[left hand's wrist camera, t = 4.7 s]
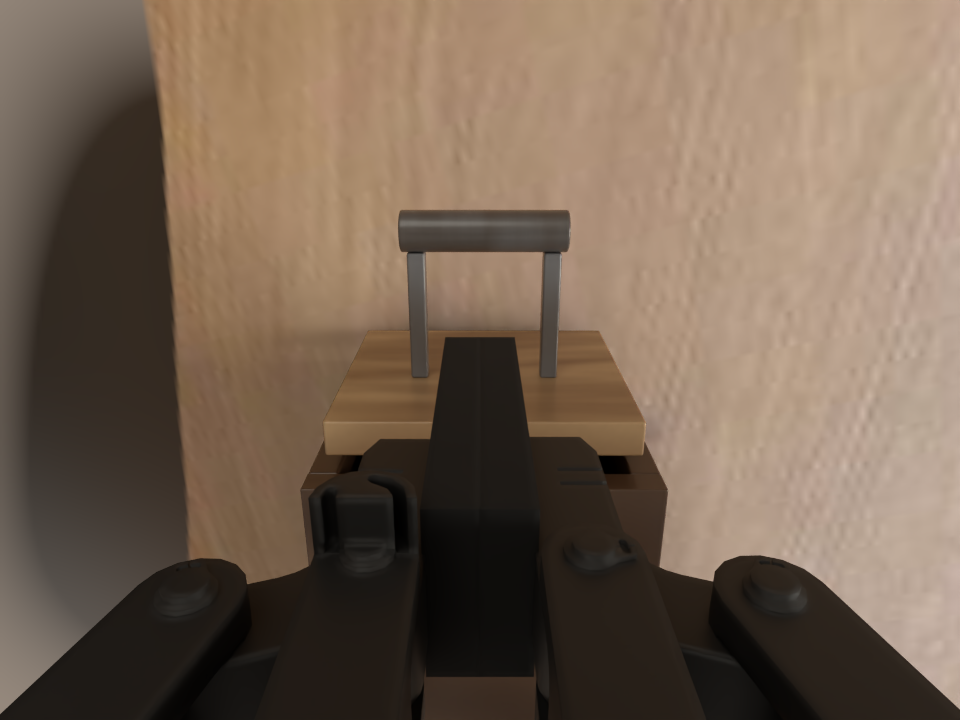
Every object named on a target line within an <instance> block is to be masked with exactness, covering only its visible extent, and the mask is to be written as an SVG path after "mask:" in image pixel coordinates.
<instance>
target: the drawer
mask: <svg viewBox="0 0 960 720" xmlns="http://www.w3.org/2000/svg"><path fill="white" fill-rule="evenodd" d="M570 231H571V224H570V214H569V211H568V210H401V211H400V213H399V219H398V237H399V246H400V250H401V252H408V253H407V274H408V300H409V325H410V331H368V333H367V335H366V337H365V339H364V341H363V343H362V345H361V347H360V349H359V351H358V353H357V355H356V357H355V359H354V361H353V363H352V365H351V367H350V369H349V371H348V373H347V375H346V377H345V379H344V381H343V383H342V385H341V387H340V389H339V391H338V393H337V395H336V397H335V399H334V401H333V403H332V405H331V407H330V409H329V411H328V413H327V415H326V417H325V419H324V421H323V432H324V443H325V453H326V455H363V454H364V453H365V452H366V451H367V450H368V449H369V448H370V447H371V446H373V445H374V444H375V443H376V442H377V441H378V440H380V439H430V437H431V430H432V423H433V416H434V410H435V403H436V396H437V389H438V383H439V376H440V369H441V362H442V356H443V349H444V342H445V337H515V342H516V349H517V356H518V363H519V369H520V376H521V383H522V389H523V396H524V403H525V410H526V416H527V423H528V430H529V437H581V438H582V439H583V440H584V441H585V442H587V443H588V444H589V445H590V446H591V447H592V448H593V449H595V450H596V451H597V454H598V457H599V456H641V455H643V450H644V440H645V430H646V422H645V420H644V418H643V416H642V414H641V412H640V410H639V408H638V406H637V404H636V402H635V400H634V398H633V396H632V394H631V393H630V391H629V389H628V387H627V385H626V383H625V381H624V379H623V377H622V375H621V373H620V371H619V369H618V367H617V365H616V363H615V361H614V359H613V357H612V355H611V353H610V351H609V349H608V348H607V346H606V344H605V342H604V340H603V338H602V336H601V334H600V332H599V331H559V308H560V285H561V263H562V254H561V252H567V251H568V249H569V244H570ZM426 252H543V261H542V291H541V320H540V331H428V314H427V280H426ZM599 460H600V459H599ZM602 471H603V469H602Z"/></svg>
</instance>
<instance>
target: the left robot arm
mask: <svg viewBox="0 0 960 720" xmlns="http://www.w3.org/2000/svg"><path fill="white" fill-rule="evenodd" d="M308 501H309V510H310V520H311V529H312V538H313V548H314V556H313V559H312V562H311V564H310V566H309V567H307V568H304V569H302V570H300V571H298V572H296V573H293V574H289V575H286V576H283V577H279V578H275V579H270V580H266V581H261V582H257V583H252V584H247V581H246V575H245V573H244V572H243V571H242V570H241V569H240V568H239V567H238V566H237V565H236V564H234V563H231V562H228V561H225V560H222V559H204V558H200V559H195V560H190V561H185V562H180V563H177V564H174V565H172V566H170V567H167V568H165V569H163V570H160V571H158V572H156V573H155V574H153V575H152V576H150V577H149V578H148V579H146V580H145V581H143V582H142V583H141V584H139V585H138V586H137V587H136V588H135V589H134V590H133V591H131V592H130V593H129V594H128V595H127V596H126V597H125V598H124V599H123V600H122V601H121V602H120V603H119V604H118V605H117V606H115V607H114V608H113V609H112V610H111V611H110V612H109V613H108V614H107V615H106V616H105V617H104V618H103V619H102V620H100V621H99V622H98V623H97V624H96V625H95V626H94V627H93V628H92V629H91V630H90V631H89V632H88V633H87V634H86V635H84V636H83V637H82V638H81V639H80V640H79V641H78V642H77V643H76V644H75V645H74V646H73V647H72V648H71V649H70V650H68V651H67V652H66V653H65V654H64V655H63V656H62V657H61V658H60V659H59V660H58V661H57V662H56V663H55V664H53V665H52V666H51V667H50V668H49V669H48V670H47V671H46V672H45V673H44V674H43V675H42V676H41V677H40V678H39V679H37V680H36V681H35V682H34V683H33V684H32V685H31V686H30V687H29V688H28V689H27V690H26V691H25V692H24V693H22V694H21V695H20V696H19V697H18V698H17V699H16V700H15V701H14V702H13V703H12V704H11V705H10V706H9V707H8V708H6V709H5V710H4V711H3V712H2V713H1V714H0V720H424V718H425V694H424V677H425V666H426V677H534V663H535V673H536V694H535V719H534V720H960V709H959V708H957V707H956V706H955V705H954V704H953V703H952V702H951V701H950V700H949V699H948V698H947V697H946V696H945V695H943V694H942V693H941V692H940V691H939V690H938V689H937V688H936V687H935V686H934V685H933V684H932V683H931V682H929V681H928V680H927V679H926V678H925V677H924V676H923V675H922V674H921V673H920V672H919V671H918V670H917V669H915V668H914V667H913V666H912V665H911V664H910V663H909V662H908V661H907V660H906V659H905V658H904V657H903V656H901V655H900V654H899V653H898V652H897V651H896V650H895V649H894V648H893V647H892V646H891V645H890V644H889V643H887V642H886V641H885V640H884V639H883V638H882V637H881V636H880V635H879V634H878V633H877V632H876V631H875V630H873V629H872V628H871V627H870V626H869V625H868V624H867V623H866V622H865V621H864V620H863V619H862V618H861V617H859V616H858V615H857V614H856V613H855V612H854V611H853V610H852V609H851V608H850V607H849V606H848V605H847V604H845V603H844V602H843V601H842V600H841V599H840V598H839V597H838V596H837V595H836V594H835V593H834V592H833V591H831V590H830V589H829V588H828V587H827V586H826V585H825V584H824V583H823V582H822V581H820V580H819V579H817V578H816V577H815V576H813V575H812V574H810V573H809V572H807V571H806V570H805V569H803V568H800V567H798V566H796V565H793V564H791V563H788V562H786V561H784V560H780V559H775V558H770V557H765V556H739V557H736V558H733V559H730V560H727V561H724V562H723V563H722V564H721V566H720V567H719V568H718V569H717V570H716V571H715V575H714V581H713V582H712V581H707V580H703V579H698V578H693V577H689V576H684V575H680V574H677V573H673V572H670V571H667V570H664V569H662V568H660V567H657V566H655V565H653V564H651V563H649V561H648V558H647V555H646V553H645V551H644V550H643V548H642V547H641V545H640V544H639V543H638V541H637V540H635V539H634V538H632V537H631V536H629V535H628V534H626V533H625V532H624V531H623V529H622V526H621V523H620V520H619V517H618V514H617V511H616V508H615V505H614V502H613V499H612V496H611V493H610V490H609V487H608V485H607V481H606V478H605V475H604V472H603V471H602V466H601V463H600V460H599V457H598V454H597V451H596V450H595V449H593V448H592V447H591V446H590V445H589V444H588V443H587V442H585V441H584V440H583V439H582V438H581V437H529V430H528V423H527V416H526V410H525V403H524V396H523V389H522V383H521V376H520V369H519V363H518V356H517V349H516V342H515V337H445V342H444V349H443V356H442V362H441V369H440V376H439V383H438V389H437V396H436V403H435V410H434V416H433V423H432V430H431V437H430V439H380V440H378V441H377V442H376V443H375V444H374V445H373V446H371V447H370V448H369V449H368V450H367V451H366V452H365V453H364V454H363V457H362V460H361V463H360V466H359V469H358V471H355V472H349V473H346V474H342V475H339V476H336V477H333V478H331V479H329V480H327V481H326V482H324V483H322V484H321V485H319V486H317V487H316V489H315V490H314V491H313V492H312V494H311V495H310V496H309V497H308Z"/></svg>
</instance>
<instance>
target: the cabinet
mask: <svg viewBox="0 0 960 720" xmlns="http://www.w3.org/2000/svg"><path fill="white" fill-rule="evenodd" d="M362 457H363V455H326V453H325V443H324V442H323V444H322V446H321V448H320V451H319V453H318V455H317V457H316V459H315V461H314V463H313V466H312V468H311V470H310V472H309V474H308V475H307V477H306V479H305V482H304V484H303V486H302V488H301V498H302V507H303V516H304V525H305V534H306V543H307V552H308V561H309V566H310V564H311V562H312V559H313V556H314V548H313V538H312V529H311V520H310V510H309V501H308V497H309V496H310V495H311V494H312V492H313V491H314V490H315V489H316V487H317V486H319V485H321V484H322V483H324V482H326V481H327V480H329V479H331V478H333V477H336V476H339V475H342V474H346V473H349V472H355V471H358V469H359V466H360V463H361V460H362ZM599 459H600V463H601V466H602V469H603V472H604V475H605V478H606V481H607V485H608V487H609V490H610V493H611V496H612V499H613V502H614V505H615V508H616V511H617V514H618V517H619V520H620V523H621V526H622V529H623V531H624V532H625V533H626V534H628V535H629V536H631V537H632V538H634V539H635V540H637V541H638V543H639V544H640V545H641V547H642V548H643V550H644V551H645V553H646V555H647V558H648V561H649V563H651V564H653V565H655V566H657V567H659V565H660V556H661V548H662V539H663V531H664V522H665V513H666V505H667V496H668V489H667V487H666V485H665V483H664V481H663V479H662V476H661V475H660V473H659V471H658V468H657V466H656V464H655V462H654V460H653V458H652V456H651V454H650V452H649V450H648V448H647V445H646V443H645V441H644V450H643V455H641V456H599ZM424 694H425V718H424V720H534V719H535V694H536V673H535V663H534V677H426V666H425V677H424Z"/></svg>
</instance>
